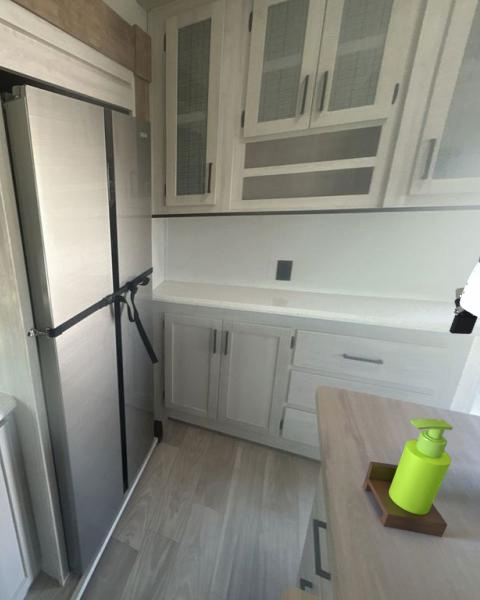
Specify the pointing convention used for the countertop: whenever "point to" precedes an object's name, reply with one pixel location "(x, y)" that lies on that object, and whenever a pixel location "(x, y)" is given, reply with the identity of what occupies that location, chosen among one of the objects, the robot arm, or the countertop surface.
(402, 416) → the countertop surface
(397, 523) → the walnut shelf
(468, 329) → the robot arm
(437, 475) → the soap dispenser
